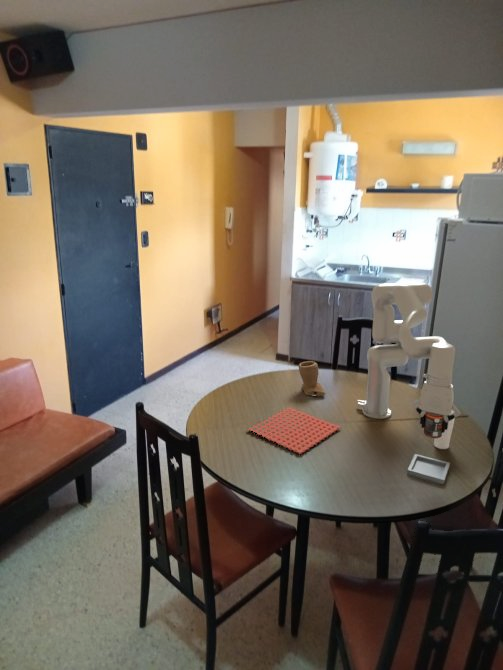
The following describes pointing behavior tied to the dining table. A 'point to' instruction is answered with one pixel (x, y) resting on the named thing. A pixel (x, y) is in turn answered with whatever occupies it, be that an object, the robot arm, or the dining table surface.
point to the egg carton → (296, 430)
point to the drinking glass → (445, 436)
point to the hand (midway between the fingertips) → (433, 428)
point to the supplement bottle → (433, 425)
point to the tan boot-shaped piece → (310, 378)
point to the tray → (428, 469)
